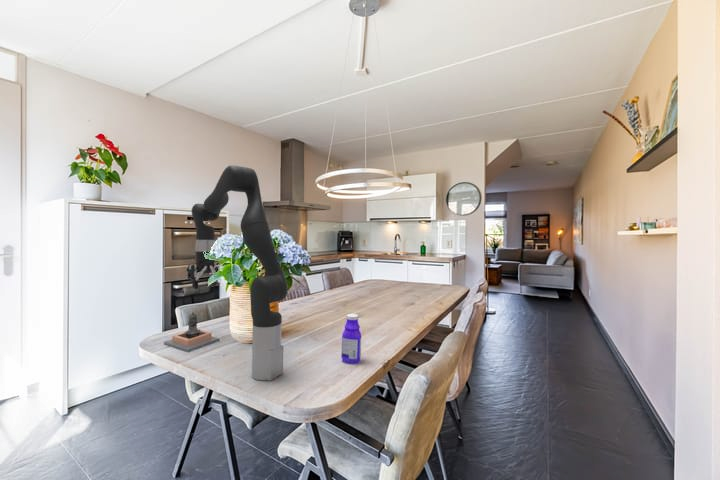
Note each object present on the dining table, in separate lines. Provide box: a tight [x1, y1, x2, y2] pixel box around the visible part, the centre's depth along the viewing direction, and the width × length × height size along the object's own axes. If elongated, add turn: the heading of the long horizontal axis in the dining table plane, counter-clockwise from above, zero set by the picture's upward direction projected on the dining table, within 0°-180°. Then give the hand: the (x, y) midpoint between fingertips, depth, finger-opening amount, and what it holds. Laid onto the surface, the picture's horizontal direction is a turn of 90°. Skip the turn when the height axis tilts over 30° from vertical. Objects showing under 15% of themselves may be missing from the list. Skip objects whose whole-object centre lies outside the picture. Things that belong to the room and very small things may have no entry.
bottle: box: [340, 313, 362, 364], centre depth 109 cm, size 7×6×17 cm
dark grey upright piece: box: [184, 311, 201, 339], centre depth 122 cm, size 6×6×12 cm
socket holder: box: [163, 328, 221, 353], centre depth 123 cm, size 16×14×4 cm
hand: (205, 287), depth 126 cm, fingers open, 8 cm apart
